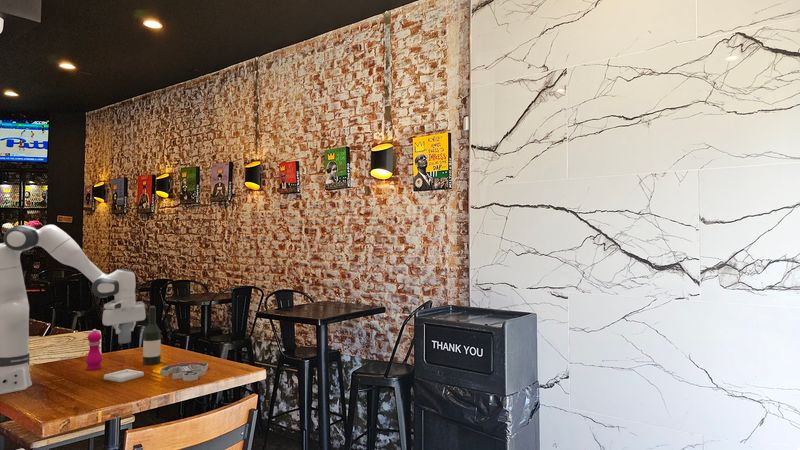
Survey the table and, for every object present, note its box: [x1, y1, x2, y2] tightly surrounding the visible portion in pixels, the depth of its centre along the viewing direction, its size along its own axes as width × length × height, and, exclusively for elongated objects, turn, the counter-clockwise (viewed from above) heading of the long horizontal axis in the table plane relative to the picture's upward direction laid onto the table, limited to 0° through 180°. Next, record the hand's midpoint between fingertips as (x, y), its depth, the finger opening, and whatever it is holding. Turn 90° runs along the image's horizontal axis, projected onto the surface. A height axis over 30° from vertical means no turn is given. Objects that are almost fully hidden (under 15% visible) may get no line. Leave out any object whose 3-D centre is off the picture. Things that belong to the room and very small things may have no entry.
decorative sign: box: [160, 361, 209, 382], centre depth 257 cm, size 22×3×30 cm
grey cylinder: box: [117, 322, 132, 344], centre depth 250 cm, size 5×5×9 cm
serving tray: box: [103, 368, 145, 383], centre depth 249 cm, size 12×12×2 cm
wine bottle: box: [142, 305, 162, 366], centre depth 277 cm, size 8×8×30 cm
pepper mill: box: [85, 328, 103, 371], centre depth 266 cm, size 7×7×20 cm
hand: (124, 332), depth 250 cm, fingers closed on grey cylinder, 5 cm apart
